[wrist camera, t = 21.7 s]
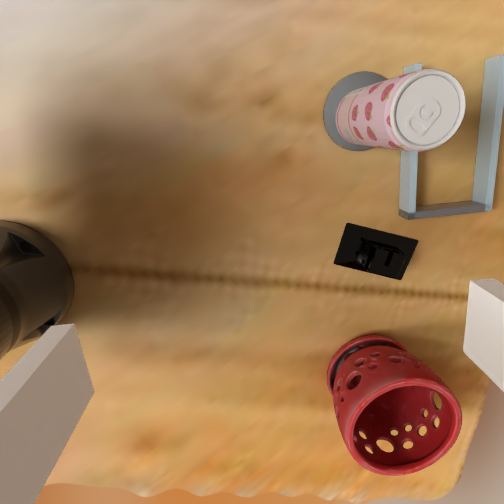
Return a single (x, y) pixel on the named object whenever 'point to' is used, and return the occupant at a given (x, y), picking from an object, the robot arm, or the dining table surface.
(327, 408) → the dining table surface
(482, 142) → the channel
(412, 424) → the plant pot
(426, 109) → the beverage can
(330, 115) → the grey round disc
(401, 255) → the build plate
